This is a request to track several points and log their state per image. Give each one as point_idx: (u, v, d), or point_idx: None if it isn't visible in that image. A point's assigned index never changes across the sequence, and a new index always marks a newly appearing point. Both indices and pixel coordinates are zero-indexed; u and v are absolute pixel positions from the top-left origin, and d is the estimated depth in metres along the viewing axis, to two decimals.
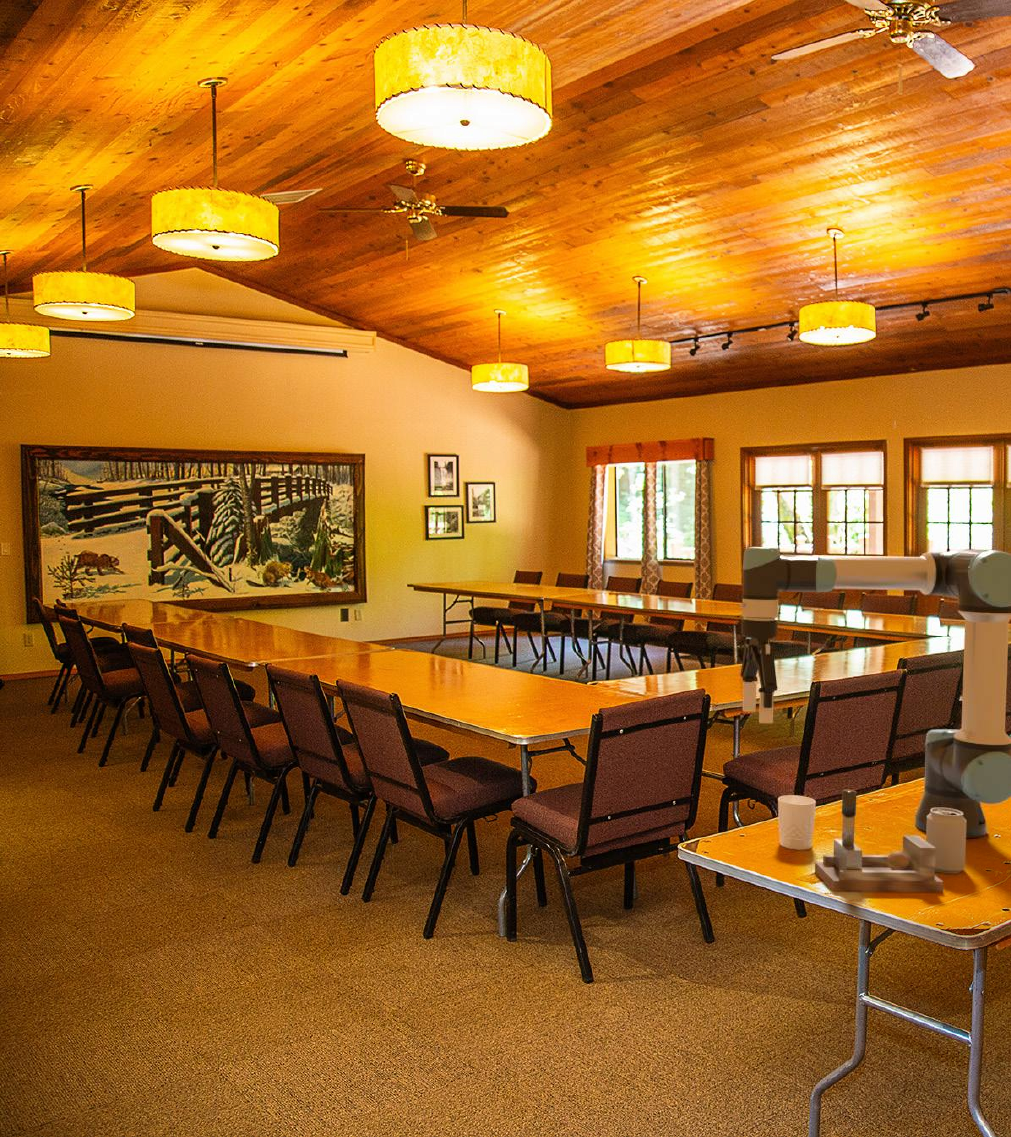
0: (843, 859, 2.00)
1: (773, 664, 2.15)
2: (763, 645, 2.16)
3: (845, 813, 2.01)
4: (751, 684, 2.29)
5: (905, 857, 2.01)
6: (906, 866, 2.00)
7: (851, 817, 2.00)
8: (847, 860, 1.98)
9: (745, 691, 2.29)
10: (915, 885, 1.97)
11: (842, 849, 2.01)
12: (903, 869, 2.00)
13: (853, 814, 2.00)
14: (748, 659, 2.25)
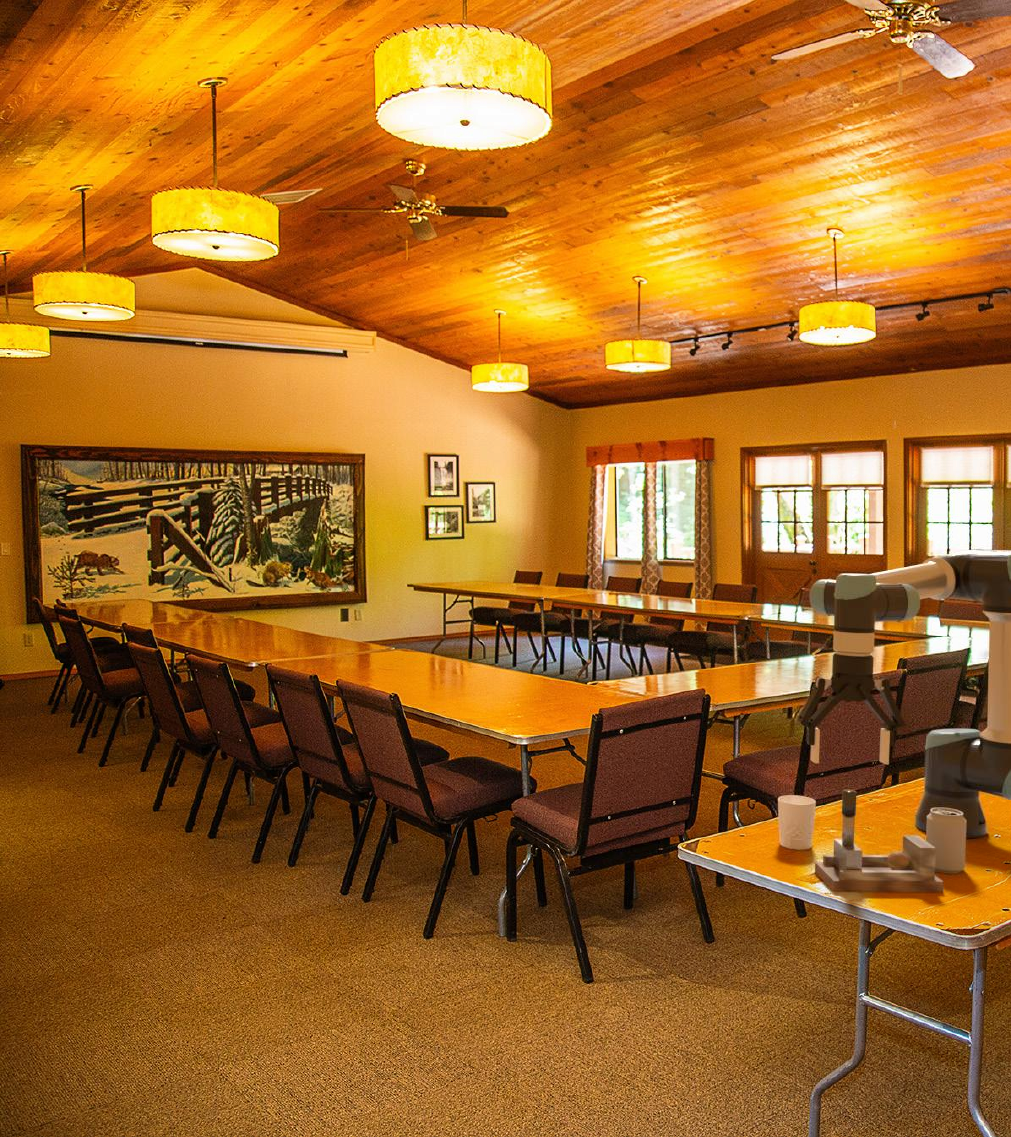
0: (843, 859, 2.00)
1: (812, 698, 1.99)
2: (817, 677, 2.01)
3: (845, 813, 2.01)
4: (883, 732, 2.00)
5: (905, 857, 2.01)
6: (906, 866, 2.00)
7: (851, 817, 2.00)
8: (847, 860, 1.98)
9: (880, 738, 2.02)
10: (915, 885, 1.97)
11: (842, 849, 2.01)
12: (903, 869, 2.00)
13: (853, 814, 2.00)
14: (863, 699, 2.02)
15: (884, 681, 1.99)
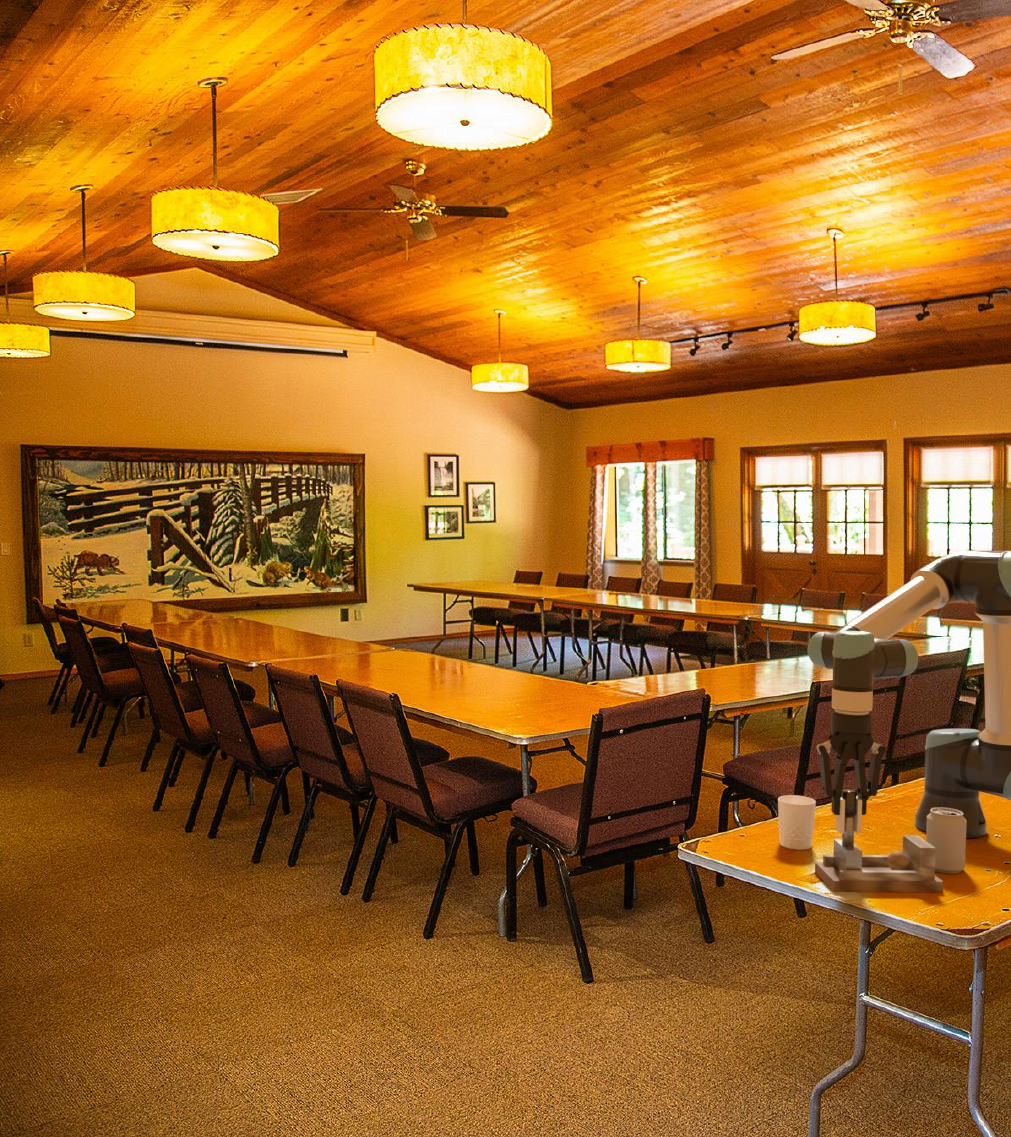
0: (843, 859, 2.00)
1: (823, 768, 2.00)
2: (816, 745, 2.02)
3: (845, 813, 2.01)
4: (856, 800, 2.01)
5: (905, 857, 2.01)
6: (906, 866, 2.00)
7: (851, 817, 2.00)
8: (847, 860, 1.98)
9: None
10: (915, 885, 1.97)
11: (842, 849, 2.01)
12: (903, 869, 2.00)
13: (853, 814, 2.00)
14: (853, 758, 2.02)
15: (882, 747, 2.00)
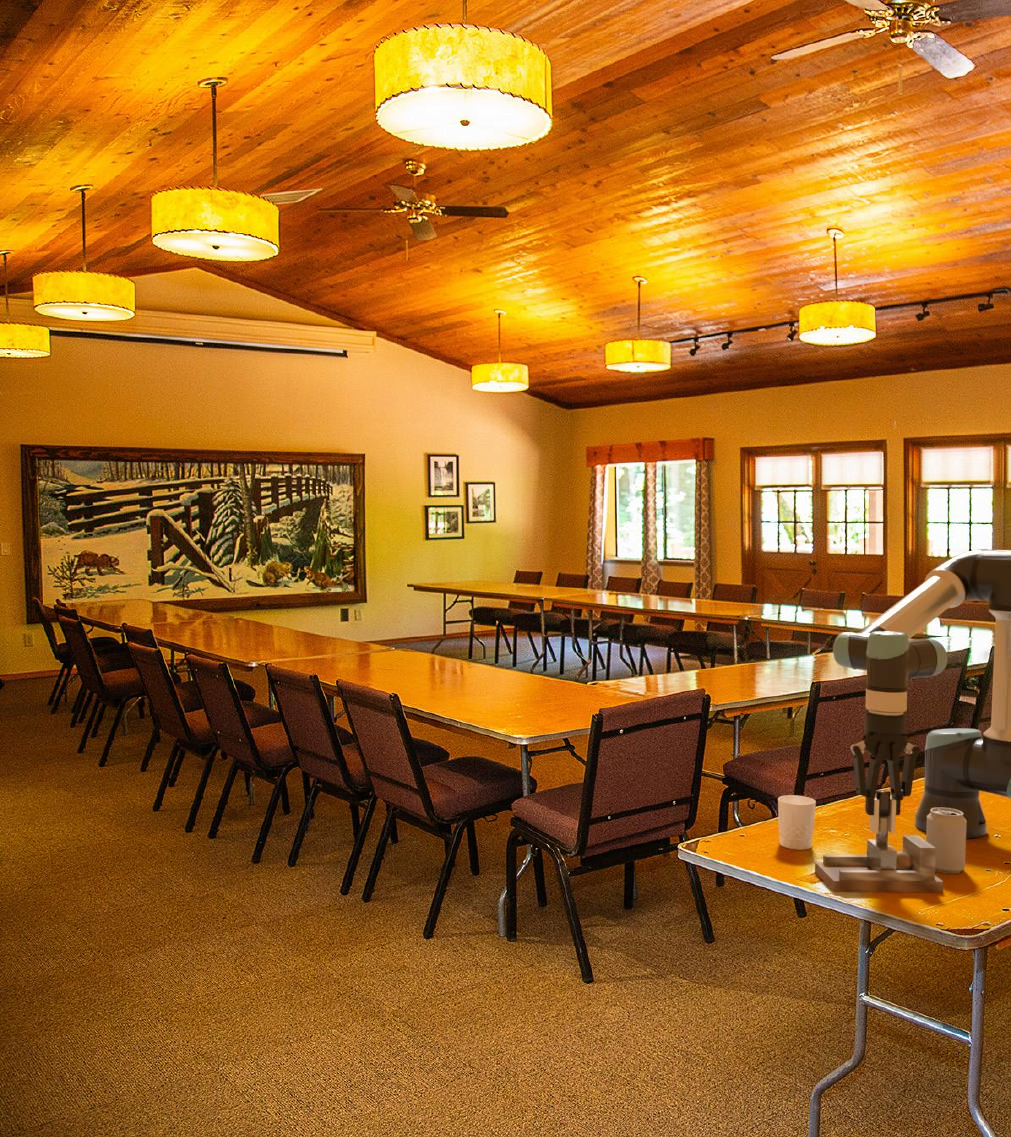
0: (877, 859, 2.00)
1: (857, 768, 2.00)
2: (850, 746, 2.02)
3: (879, 813, 2.01)
4: (890, 801, 2.01)
5: (909, 858, 2.01)
6: (908, 867, 2.00)
7: (885, 817, 2.01)
8: (881, 860, 1.98)
9: None
10: (915, 885, 1.97)
11: (876, 850, 2.01)
12: (904, 869, 2.00)
13: (887, 814, 2.00)
14: (886, 758, 2.03)
15: (916, 747, 2.00)
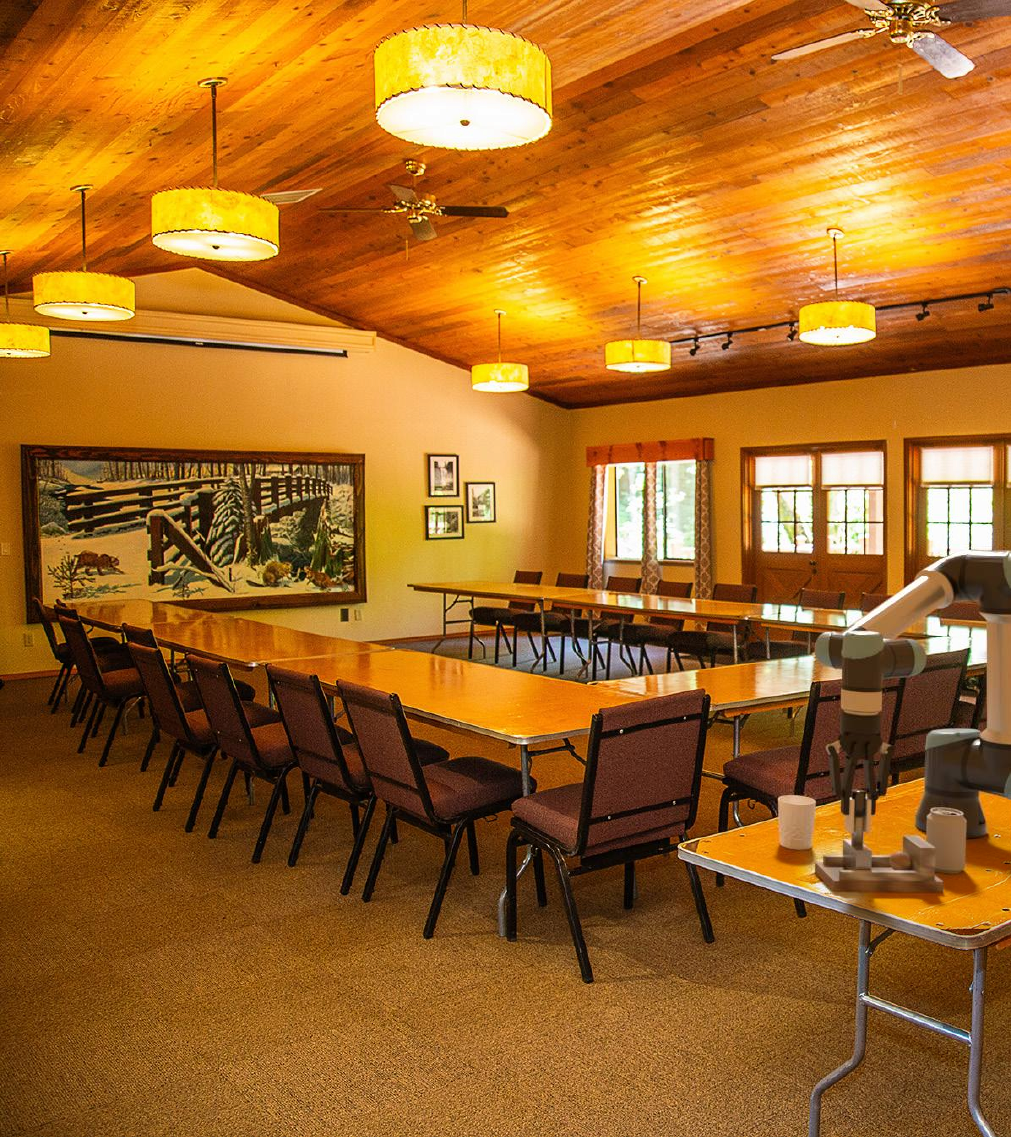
0: (852, 859, 2.00)
1: (832, 768, 2.00)
2: (825, 746, 2.02)
3: (854, 813, 2.01)
4: None
5: (908, 858, 2.01)
6: (908, 867, 2.00)
7: (861, 817, 2.00)
8: (856, 860, 1.98)
9: None
10: (915, 885, 1.97)
11: (851, 850, 2.01)
12: (904, 869, 2.00)
13: (862, 814, 2.00)
14: (862, 758, 2.02)
15: (891, 747, 2.00)
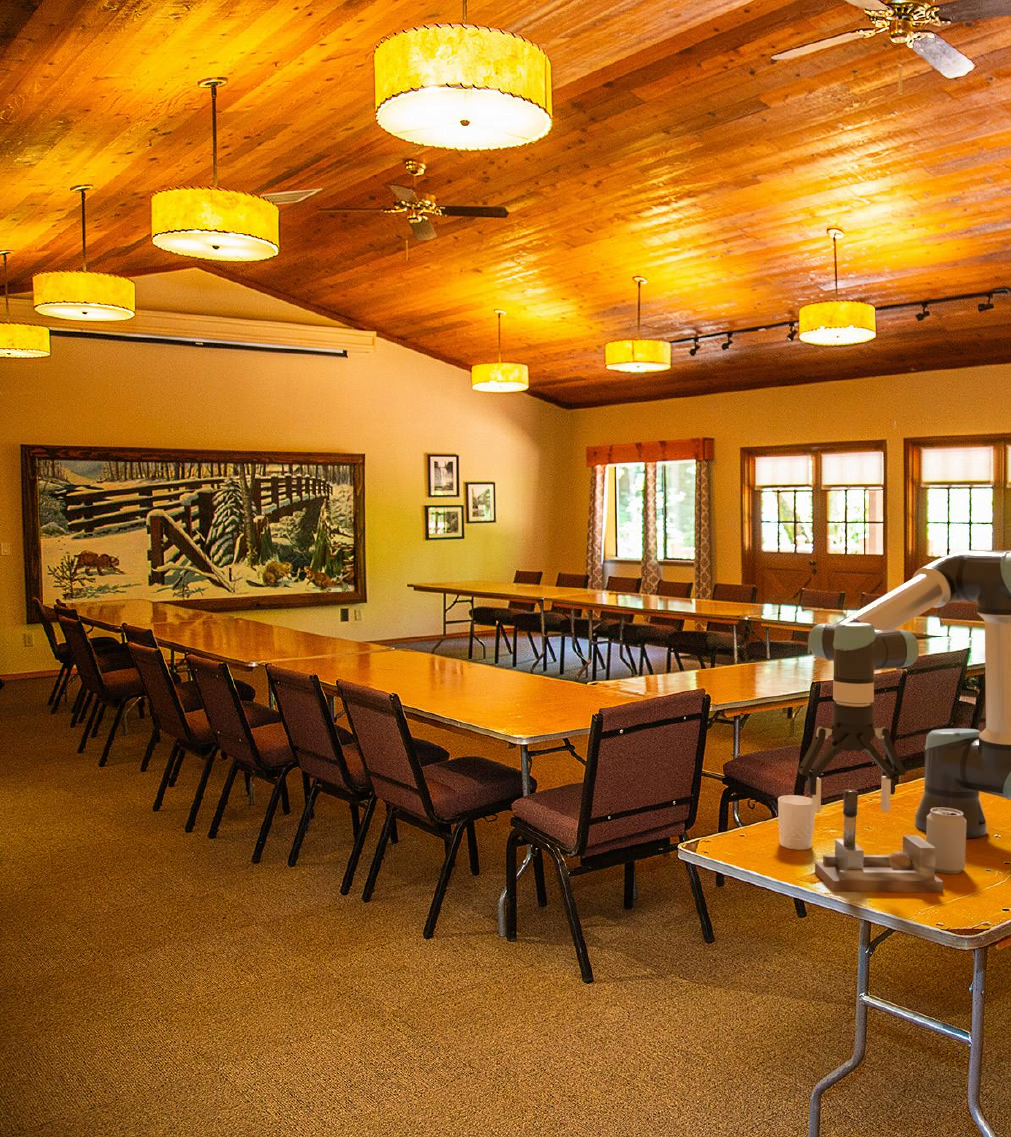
0: (844, 859, 2.00)
1: (813, 748, 2.00)
2: (817, 727, 2.01)
3: (846, 813, 2.01)
4: (884, 780, 2.01)
5: (908, 858, 2.01)
6: (907, 867, 2.00)
7: (853, 817, 2.00)
8: (848, 860, 1.98)
9: (882, 786, 2.02)
10: (915, 885, 1.97)
11: (843, 849, 2.01)
12: (904, 869, 2.00)
13: (854, 814, 2.00)
14: None
15: (884, 730, 2.00)
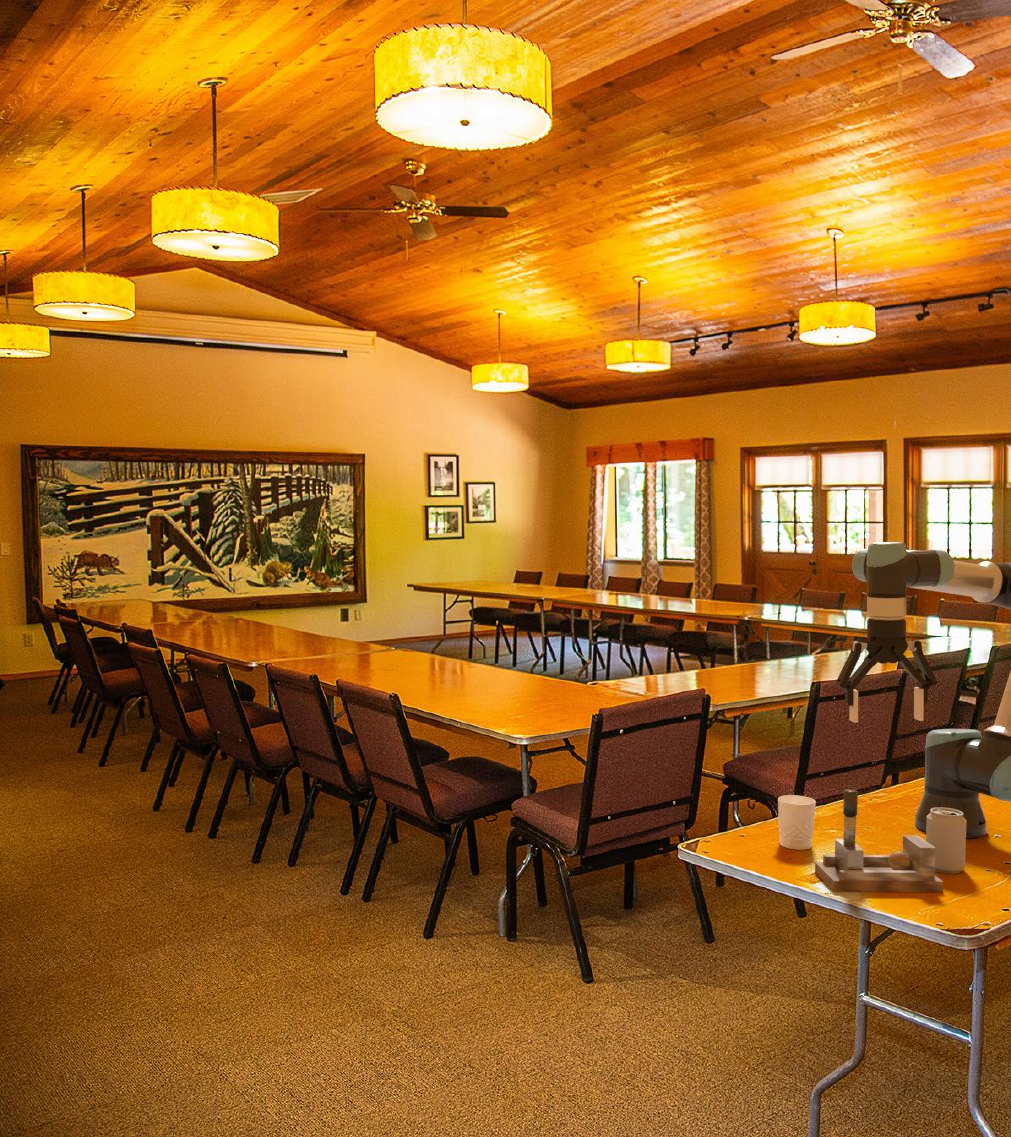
0: (844, 859, 2.00)
1: (850, 662, 2.11)
2: (853, 642, 2.12)
3: (846, 813, 2.01)
4: (917, 690, 2.12)
5: (907, 858, 2.01)
6: (907, 867, 2.00)
7: (853, 817, 2.00)
8: (848, 860, 1.98)
9: (914, 697, 2.14)
10: (915, 885, 1.97)
11: (843, 849, 2.01)
12: (904, 869, 2.00)
13: (854, 814, 2.00)
14: None
15: (916, 642, 2.11)
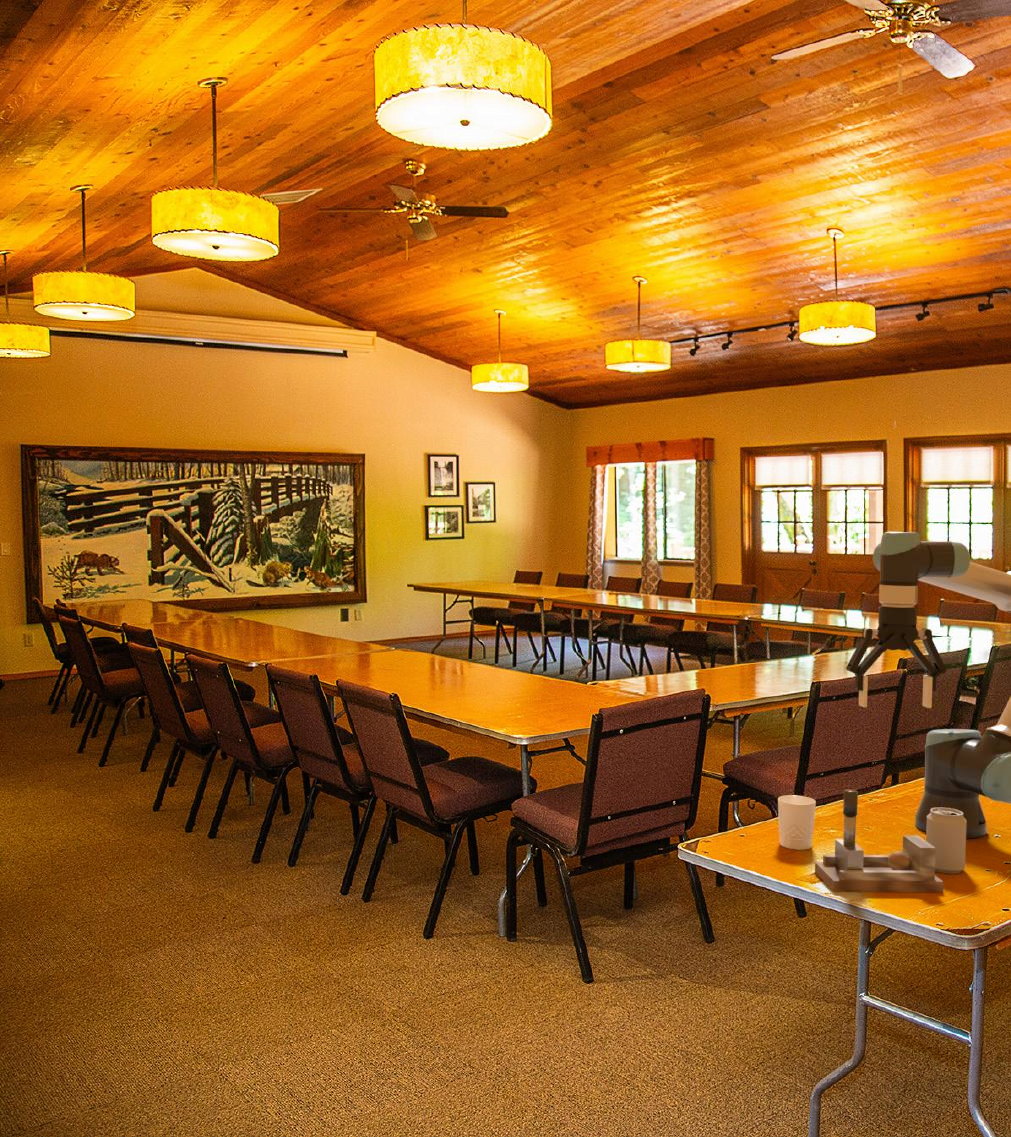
0: (844, 859, 2.00)
1: (860, 647, 2.15)
2: (864, 628, 2.17)
3: (846, 813, 2.01)
4: (926, 678, 2.17)
5: (906, 857, 2.01)
6: (907, 866, 2.00)
7: (853, 817, 2.00)
8: (848, 860, 1.98)
9: (923, 684, 2.18)
10: (915, 885, 1.97)
11: (843, 849, 2.01)
12: (903, 869, 2.00)
13: (854, 814, 2.00)
14: (907, 648, 2.18)
15: (927, 631, 2.15)
